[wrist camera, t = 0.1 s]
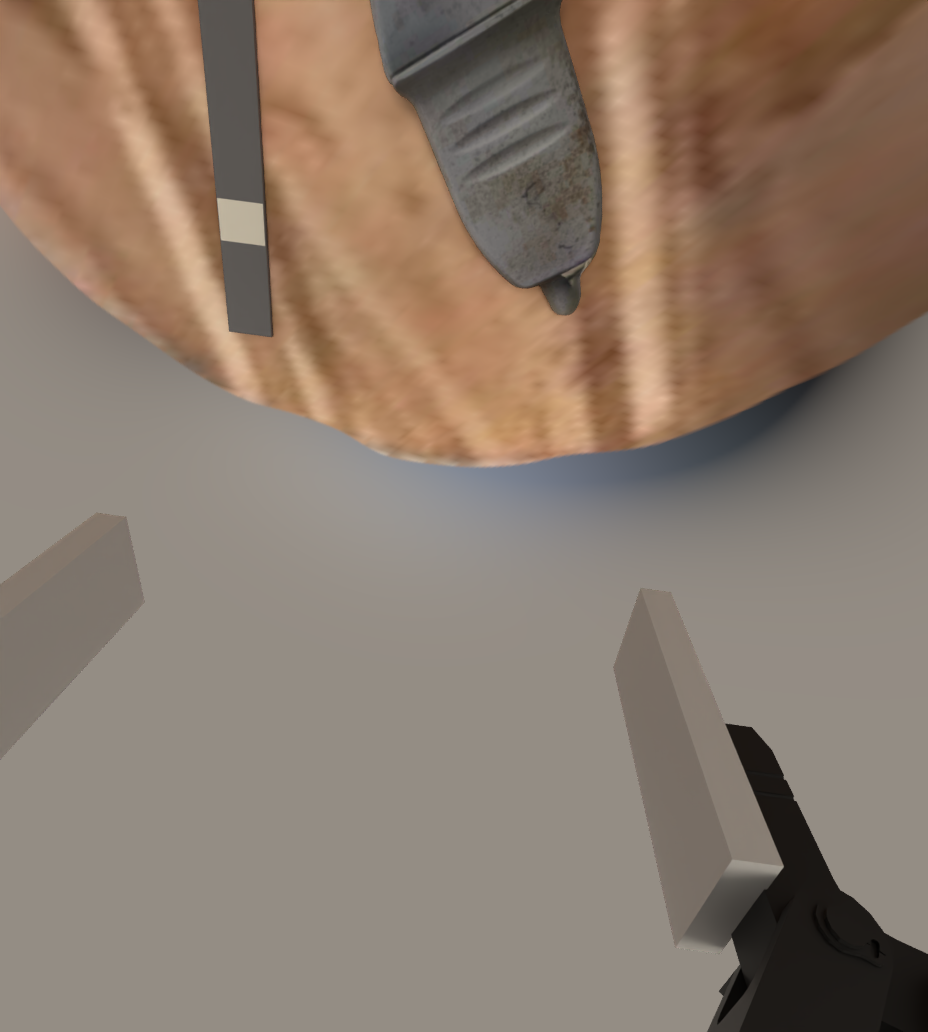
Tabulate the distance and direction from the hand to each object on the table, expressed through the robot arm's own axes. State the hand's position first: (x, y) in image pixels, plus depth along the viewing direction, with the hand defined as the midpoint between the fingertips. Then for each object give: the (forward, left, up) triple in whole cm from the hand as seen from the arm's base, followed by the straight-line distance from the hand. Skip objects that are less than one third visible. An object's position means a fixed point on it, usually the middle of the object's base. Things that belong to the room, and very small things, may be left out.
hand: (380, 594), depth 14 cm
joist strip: (-9, -15, -28) cm, 33 cm away
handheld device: (-12, +2, -28) cm, 31 cm away
